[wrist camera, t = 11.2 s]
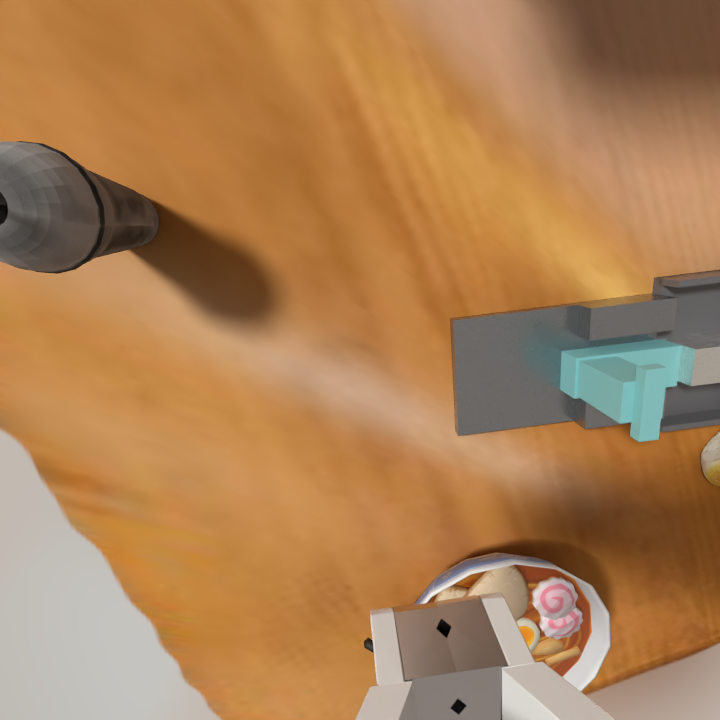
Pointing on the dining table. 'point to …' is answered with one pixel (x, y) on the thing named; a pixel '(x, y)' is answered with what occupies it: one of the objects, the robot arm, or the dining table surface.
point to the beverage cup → (64, 211)
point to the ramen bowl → (536, 609)
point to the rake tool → (624, 381)
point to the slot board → (541, 359)
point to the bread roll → (712, 460)
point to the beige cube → (698, 360)
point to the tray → (693, 316)
